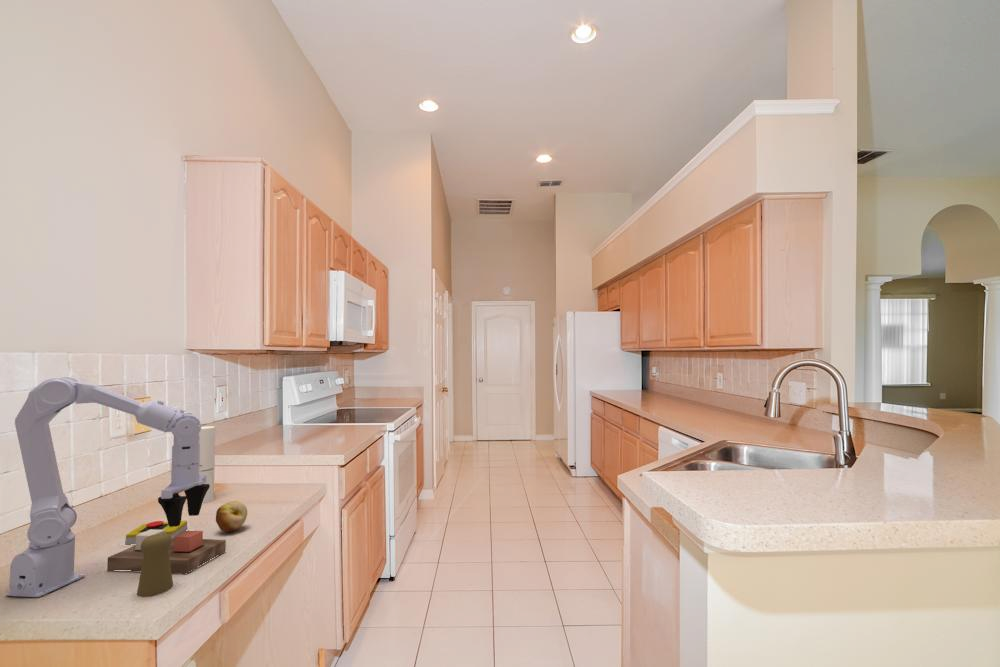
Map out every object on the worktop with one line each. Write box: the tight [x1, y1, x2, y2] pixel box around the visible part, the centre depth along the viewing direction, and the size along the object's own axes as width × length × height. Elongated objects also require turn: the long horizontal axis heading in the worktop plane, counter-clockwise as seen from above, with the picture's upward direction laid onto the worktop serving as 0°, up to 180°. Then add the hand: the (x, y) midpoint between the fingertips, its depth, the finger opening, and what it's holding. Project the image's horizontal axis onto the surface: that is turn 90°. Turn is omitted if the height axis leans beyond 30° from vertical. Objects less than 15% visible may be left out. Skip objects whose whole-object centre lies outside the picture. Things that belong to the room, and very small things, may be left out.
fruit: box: [215, 500, 248, 533], centre depth 130 cm, size 8×8×8 cm
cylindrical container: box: [199, 425, 216, 504], centre depth 160 cm, size 7×7×25 cm
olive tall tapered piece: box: [136, 533, 174, 598], centre depth 96 cm, size 6×6×11 cm
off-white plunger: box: [134, 529, 165, 550], centre depth 111 cm, size 4×4×3 cm
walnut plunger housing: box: [106, 538, 227, 574], centre depth 110 cm, size 12×20×3 cm, turn 83°
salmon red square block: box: [174, 530, 204, 552], centre depth 109 cm, size 4×4×3 cm
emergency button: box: [124, 520, 189, 545], centre depth 126 cm, size 9×4×15 cm
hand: (184, 520), depth 113 cm, fingers open, 7 cm apart
